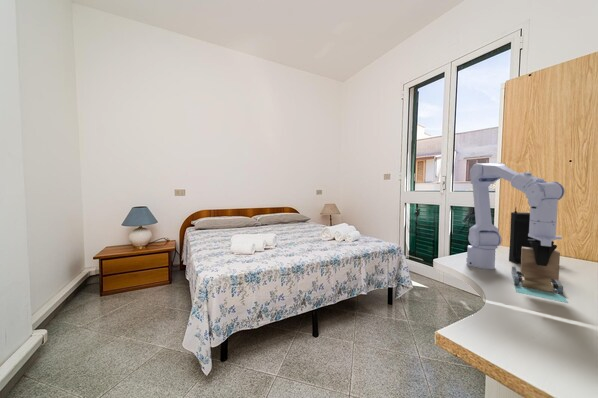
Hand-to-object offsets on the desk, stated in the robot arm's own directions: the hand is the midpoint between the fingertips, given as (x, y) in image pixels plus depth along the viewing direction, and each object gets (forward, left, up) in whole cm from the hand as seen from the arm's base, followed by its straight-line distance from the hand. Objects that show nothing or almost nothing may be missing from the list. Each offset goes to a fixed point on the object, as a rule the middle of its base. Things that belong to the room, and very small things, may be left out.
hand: (540, 263), depth 71 cm
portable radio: (-1, +36, -11) cm, 38 cm away
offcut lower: (0, +6, -10) cm, 11 cm away
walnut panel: (0, 0, -4) cm, 4 cm away
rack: (0, +10, -10) cm, 15 cm away
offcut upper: (0, +6, -7) cm, 9 cm away
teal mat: (0, 0, -10) cm, 10 cm away
